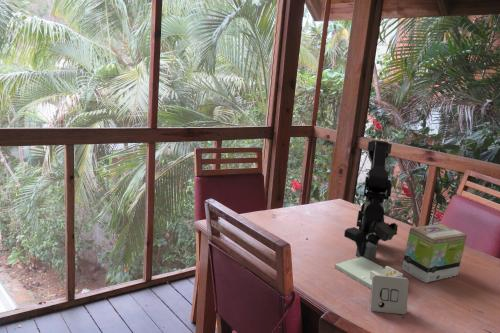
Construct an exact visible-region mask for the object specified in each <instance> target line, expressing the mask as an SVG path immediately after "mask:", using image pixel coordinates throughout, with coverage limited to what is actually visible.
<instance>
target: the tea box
mask: <svg viewBox="0 0 500 333" xmlns="http://www.w3.org/2000/svg"><path fill="white" fill-rule="evenodd" d="M467 235H468V234H466V233H464V232H461V231H460V230H458V229H454V228H453V227H450V226H447V225H445V224H443V223H438V224H437V223H436V224H429V225H422V226H414V227H413V226H412V227H409V232H408V238H407V241H406V247H405V250H404V251H405V252H404V255H403V256H404V257H403V261H402V265H401V270H403V271H404V272H406V273H408V274H410V275H412V276H413V277H414V278H416V279H417V280H420V281H421V282H423V283H425V284H427V283H430V282H434V281H439V280H442V279H443V280H445V279H448V277H449V278H453V277H452V276H455V277H457V276H458V274H459V271H460V270H459V269H460V266H461V265H460V264H461V262H462V257H463V253H464V251H465V250H464V248H465V245H466V241H467V237H468V236H467ZM456 275H457V276H456ZM444 278H445V279H444Z"/></svg>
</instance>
